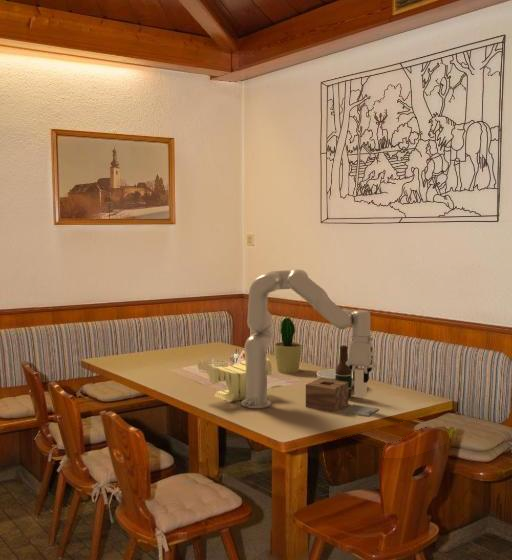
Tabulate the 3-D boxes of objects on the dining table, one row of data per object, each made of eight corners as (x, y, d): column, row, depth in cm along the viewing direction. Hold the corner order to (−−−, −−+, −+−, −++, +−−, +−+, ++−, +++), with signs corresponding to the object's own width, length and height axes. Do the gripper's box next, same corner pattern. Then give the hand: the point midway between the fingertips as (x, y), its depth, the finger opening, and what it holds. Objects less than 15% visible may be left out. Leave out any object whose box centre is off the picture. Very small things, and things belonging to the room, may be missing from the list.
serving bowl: (358, 393, 312) (358, 379, 311) (314, 391, 316) (314, 377, 315) (360, 383, 332) (360, 369, 332) (318, 381, 336) (319, 367, 336)
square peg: (363, 398, 280) (363, 370, 279) (354, 396, 282) (354, 369, 281) (366, 395, 283) (367, 368, 282) (358, 394, 285) (358, 367, 284)
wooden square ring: (334, 411, 282) (334, 388, 281) (305, 406, 290) (305, 384, 289) (348, 404, 294) (348, 382, 293) (320, 399, 301) (320, 378, 301)
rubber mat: (367, 416, 275) (367, 415, 275) (341, 412, 281) (341, 411, 281) (378, 409, 285) (378, 408, 285) (353, 405, 292) (353, 404, 291)
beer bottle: (340, 393, 312) (341, 343, 309) (354, 396, 307) (355, 345, 304) (331, 397, 306) (332, 346, 303) (346, 399, 301) (346, 348, 298)
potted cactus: (301, 374, 350) (301, 319, 347) (272, 373, 352) (272, 318, 350) (303, 368, 365) (303, 314, 362) (276, 367, 368) (275, 314, 365)
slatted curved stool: (215, 406, 290) (214, 367, 289) (198, 398, 304) (198, 360, 302) (271, 396, 307) (271, 359, 305) (253, 389, 320) (253, 353, 318)
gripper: (383, 339, 279) (382, 382, 281) (346, 336, 288) (346, 377, 290) (376, 342, 273) (375, 385, 274) (339, 338, 282) (339, 380, 283)
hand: (360, 380), depth 282 cm, fingers closed on square peg, 4 cm apart
